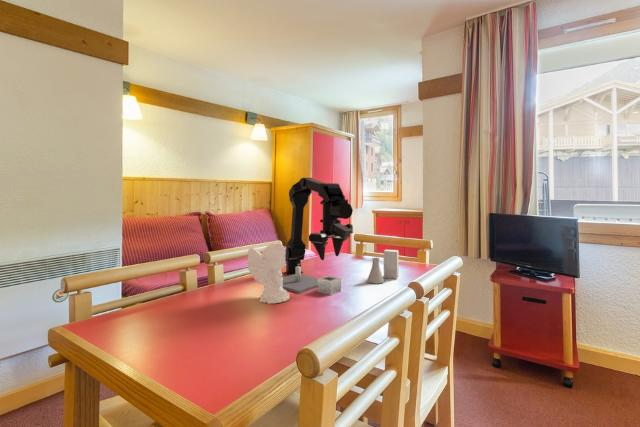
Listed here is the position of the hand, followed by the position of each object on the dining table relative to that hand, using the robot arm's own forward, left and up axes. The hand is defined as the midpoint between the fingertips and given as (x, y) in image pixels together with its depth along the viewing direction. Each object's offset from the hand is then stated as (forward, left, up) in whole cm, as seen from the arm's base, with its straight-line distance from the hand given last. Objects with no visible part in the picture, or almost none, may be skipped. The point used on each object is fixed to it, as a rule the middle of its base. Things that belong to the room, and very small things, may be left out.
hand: (329, 258), depth 127 cm
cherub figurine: (-11, -20, -13) cm, 26 cm away
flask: (+7, +23, -13) cm, 27 cm away
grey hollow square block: (0, 0, -13) cm, 13 cm away
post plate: (-16, 0, -13) cm, 21 cm away
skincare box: (+9, +33, -13) cm, 36 cm away
